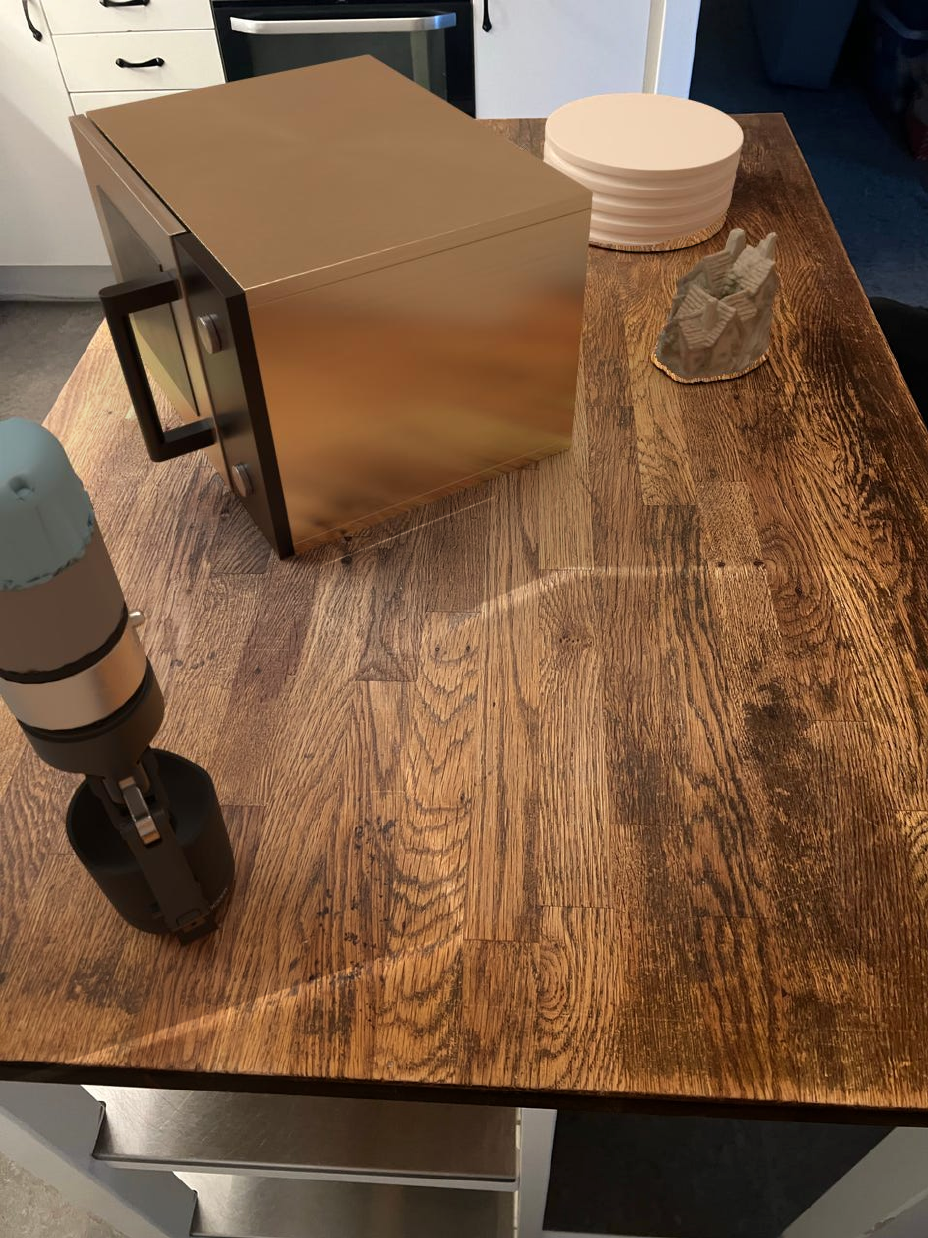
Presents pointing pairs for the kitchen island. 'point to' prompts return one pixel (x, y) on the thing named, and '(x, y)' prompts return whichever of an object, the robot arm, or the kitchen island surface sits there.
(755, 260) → the ceramic cottage
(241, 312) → the microwave
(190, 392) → the microwave door
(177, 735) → the kitchen island surface
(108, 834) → the pen holder
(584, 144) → the plate stack
